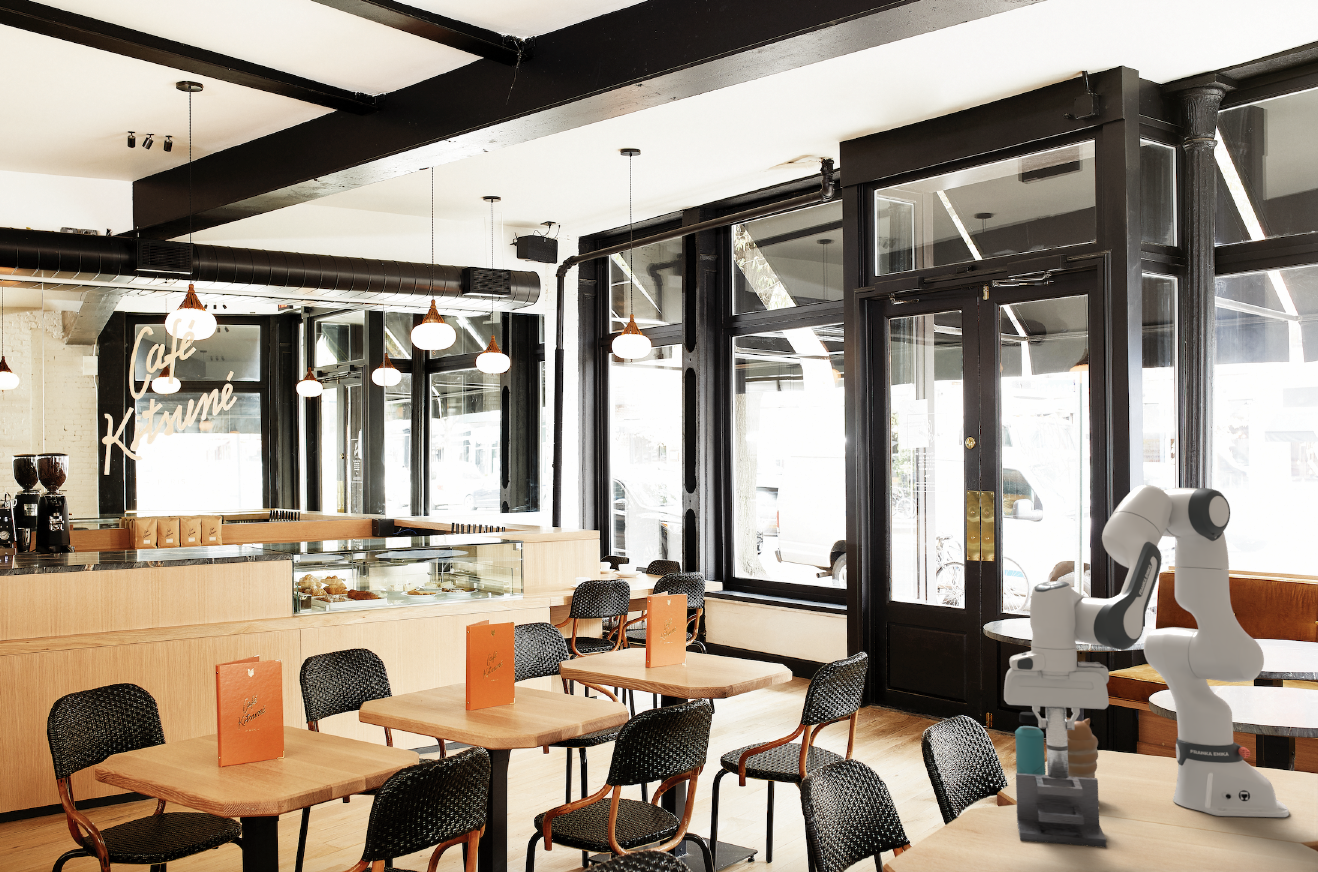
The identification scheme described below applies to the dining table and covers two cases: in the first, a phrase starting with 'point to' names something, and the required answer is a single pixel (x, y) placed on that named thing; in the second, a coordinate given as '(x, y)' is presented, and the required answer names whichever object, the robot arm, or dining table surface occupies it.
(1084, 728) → the cat ice cream
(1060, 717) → the grey cylinder
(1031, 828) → the collar stand
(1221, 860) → the dining table surface
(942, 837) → the dining table surface
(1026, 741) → the beverage bottle
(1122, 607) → the robot arm
